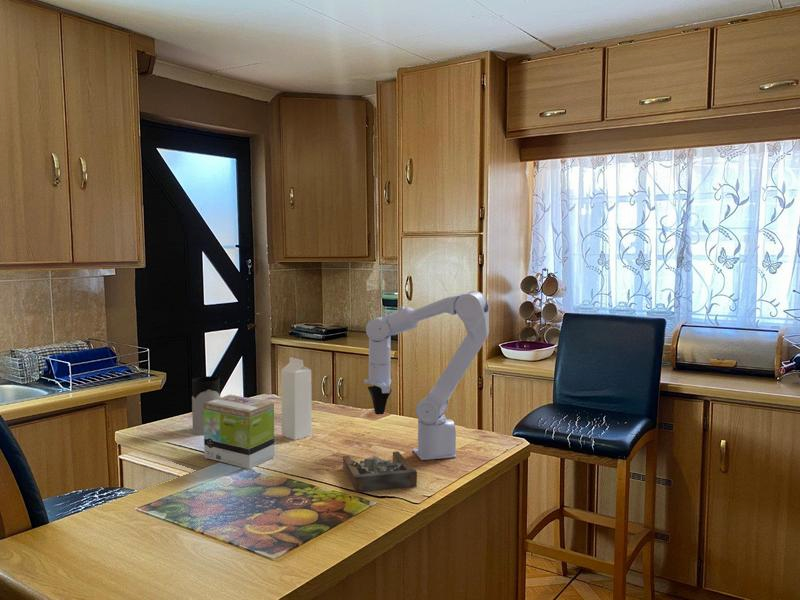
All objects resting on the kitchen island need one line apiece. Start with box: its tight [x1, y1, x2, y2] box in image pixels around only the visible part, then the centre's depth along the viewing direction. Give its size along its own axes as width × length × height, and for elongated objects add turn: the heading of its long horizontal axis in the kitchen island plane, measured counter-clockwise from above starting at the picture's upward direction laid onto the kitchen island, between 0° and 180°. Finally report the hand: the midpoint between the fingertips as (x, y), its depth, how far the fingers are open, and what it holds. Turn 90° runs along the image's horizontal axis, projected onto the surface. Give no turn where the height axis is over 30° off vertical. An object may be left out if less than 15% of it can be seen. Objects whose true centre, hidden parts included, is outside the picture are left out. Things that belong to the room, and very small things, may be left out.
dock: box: [342, 451, 418, 493], centre depth 149 cm, size 14×16×4 cm
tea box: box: [203, 394, 275, 470], centre depth 160 cm, size 15×10×15 cm, turn 62°
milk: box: [280, 357, 313, 441], centre depth 178 cm, size 6×6×22 cm
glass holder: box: [190, 375, 222, 436], centre depth 185 cm, size 9×14×15 cm, turn 28°
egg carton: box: [351, 455, 402, 474], centre depth 149 cm, size 11×8×4 cm
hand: (379, 413), depth 169 cm, fingers closed
